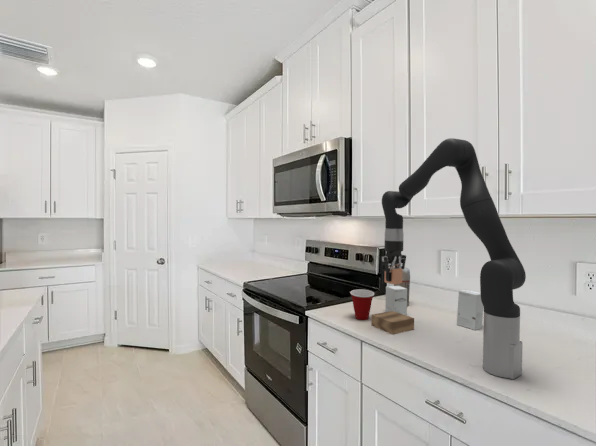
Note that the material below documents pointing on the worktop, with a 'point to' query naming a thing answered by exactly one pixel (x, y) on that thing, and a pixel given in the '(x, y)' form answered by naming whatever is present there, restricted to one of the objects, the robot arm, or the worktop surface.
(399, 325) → the walnut box
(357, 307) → the plastic cup
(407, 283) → the spray can
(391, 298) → the supplement box
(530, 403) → the worktop surface
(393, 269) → the terracotta block
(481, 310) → the skincare box
